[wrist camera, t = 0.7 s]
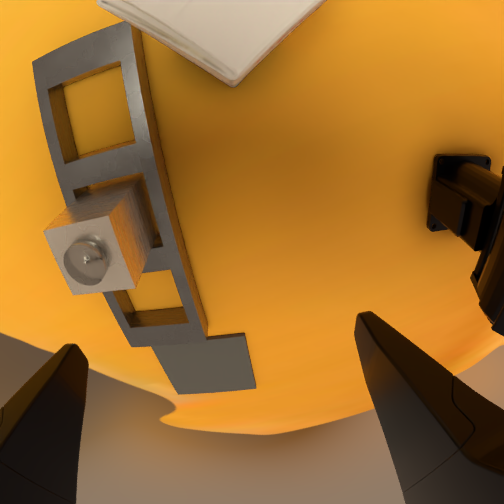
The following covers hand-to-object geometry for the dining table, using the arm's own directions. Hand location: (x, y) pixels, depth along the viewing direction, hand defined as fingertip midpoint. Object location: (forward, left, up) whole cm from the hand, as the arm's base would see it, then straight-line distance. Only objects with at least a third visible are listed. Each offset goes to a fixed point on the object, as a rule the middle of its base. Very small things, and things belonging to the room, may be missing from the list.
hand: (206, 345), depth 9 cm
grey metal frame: (+7, 0, -13) cm, 15 cm away
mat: (+5, +18, -13) cm, 23 cm away
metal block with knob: (+7, 0, -13) cm, 15 cm away
